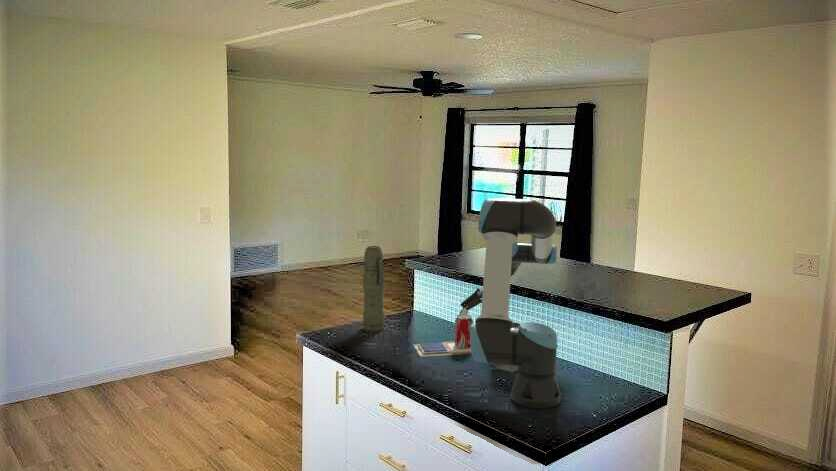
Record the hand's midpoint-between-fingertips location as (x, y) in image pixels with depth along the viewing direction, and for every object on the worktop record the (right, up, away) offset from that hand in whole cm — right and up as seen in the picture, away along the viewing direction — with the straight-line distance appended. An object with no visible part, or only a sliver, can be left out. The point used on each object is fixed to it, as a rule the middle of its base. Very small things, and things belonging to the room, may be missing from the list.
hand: (470, 327), depth 241 cm
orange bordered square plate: (-3, -7, -2) cm, 8 cm away
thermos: (-39, -4, +23) cm, 46 cm away
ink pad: (-14, -8, -4) cm, 17 cm away
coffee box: (+11, -11, -20) cm, 25 cm away
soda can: (-3, -7, -1) cm, 8 cm away
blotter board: (-8, -8, -3) cm, 12 cm away
